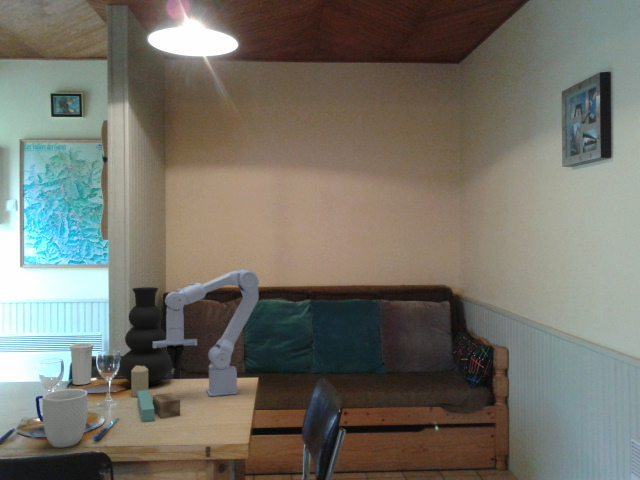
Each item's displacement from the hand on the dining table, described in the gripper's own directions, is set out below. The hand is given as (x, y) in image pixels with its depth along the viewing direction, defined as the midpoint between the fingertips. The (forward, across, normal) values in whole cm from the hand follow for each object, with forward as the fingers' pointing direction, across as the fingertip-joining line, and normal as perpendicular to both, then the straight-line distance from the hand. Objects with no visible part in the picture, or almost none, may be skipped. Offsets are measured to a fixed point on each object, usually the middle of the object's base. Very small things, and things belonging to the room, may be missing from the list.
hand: (175, 367), depth 199 cm
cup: (+10, +30, -30) cm, 44 cm away
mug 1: (+10, +35, +20) cm, 42 cm away
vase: (+10, +8, -22) cm, 25 cm away
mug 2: (+10, +32, +33) cm, 47 cm away
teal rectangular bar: (+10, +10, +12) cm, 19 cm away
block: (+10, +5, +17) cm, 20 cm away
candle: (+10, +11, -7) cm, 16 cm away
